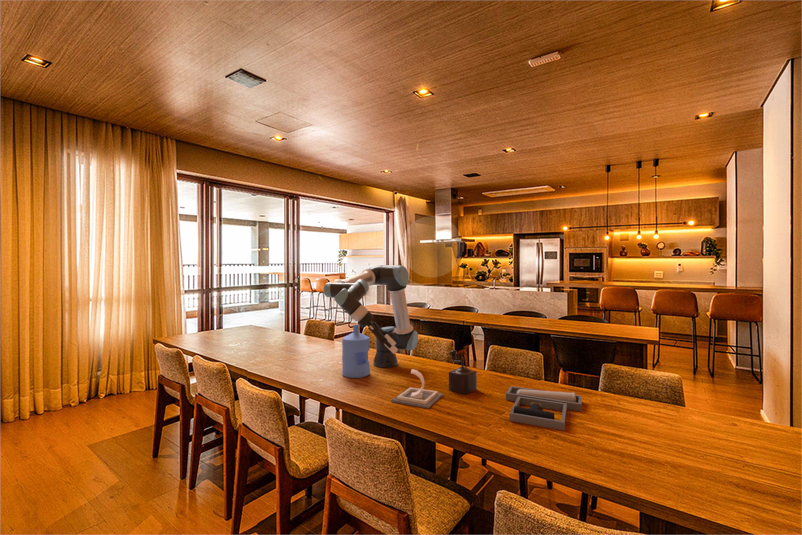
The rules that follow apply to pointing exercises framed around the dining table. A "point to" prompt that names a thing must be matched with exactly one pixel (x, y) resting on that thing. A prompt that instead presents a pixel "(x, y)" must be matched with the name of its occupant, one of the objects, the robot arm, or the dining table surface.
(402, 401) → the coaster board
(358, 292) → the robot arm
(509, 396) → the tube rest frame
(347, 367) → the water jug
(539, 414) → the pipe connector
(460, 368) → the pepper mill
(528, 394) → the tube
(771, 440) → the dining table surface
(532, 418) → the connector rest frame
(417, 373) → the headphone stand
